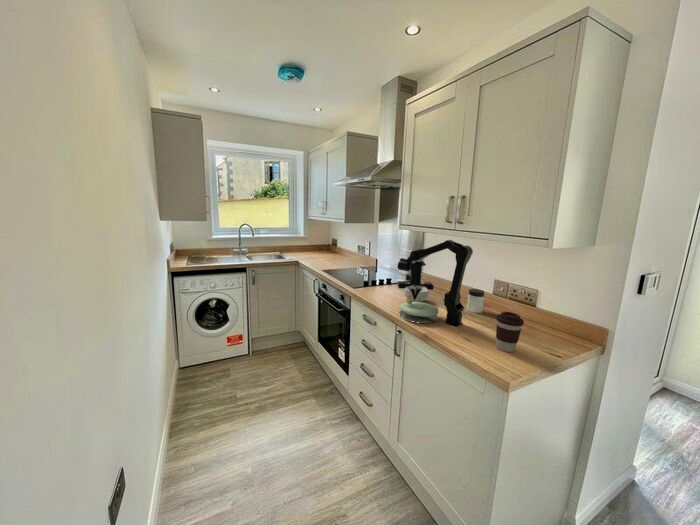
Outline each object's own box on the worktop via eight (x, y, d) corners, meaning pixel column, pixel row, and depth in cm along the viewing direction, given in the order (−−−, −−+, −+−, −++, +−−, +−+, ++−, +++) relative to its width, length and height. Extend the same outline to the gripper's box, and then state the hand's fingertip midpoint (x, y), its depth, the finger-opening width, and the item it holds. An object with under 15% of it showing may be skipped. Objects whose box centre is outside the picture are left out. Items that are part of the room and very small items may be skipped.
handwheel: (433, 304, 163) (434, 295, 162) (442, 317, 144) (444, 306, 143) (397, 302, 164) (398, 293, 163) (403, 315, 144) (404, 304, 143)
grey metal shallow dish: (445, 318, 153) (446, 312, 152) (421, 326, 141) (422, 320, 140) (415, 308, 168) (416, 302, 168) (391, 314, 156) (391, 308, 155)
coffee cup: (490, 349, 121) (495, 314, 118) (494, 341, 129) (498, 308, 126) (517, 356, 115) (523, 320, 113) (519, 347, 124) (525, 314, 121)
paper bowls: (432, 302, 180) (434, 290, 179) (412, 305, 173) (414, 292, 172) (417, 295, 194) (418, 284, 192) (398, 297, 187) (399, 285, 186)
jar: (466, 307, 174) (468, 287, 172) (480, 309, 172) (483, 289, 170) (467, 311, 166) (469, 291, 164) (482, 314, 164) (485, 293, 161)
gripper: (430, 270, 166) (428, 296, 169) (397, 269, 167) (395, 295, 170) (434, 274, 155) (432, 302, 158) (399, 273, 156) (397, 301, 159)
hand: (414, 300), depth 161 cm, fingers closed
